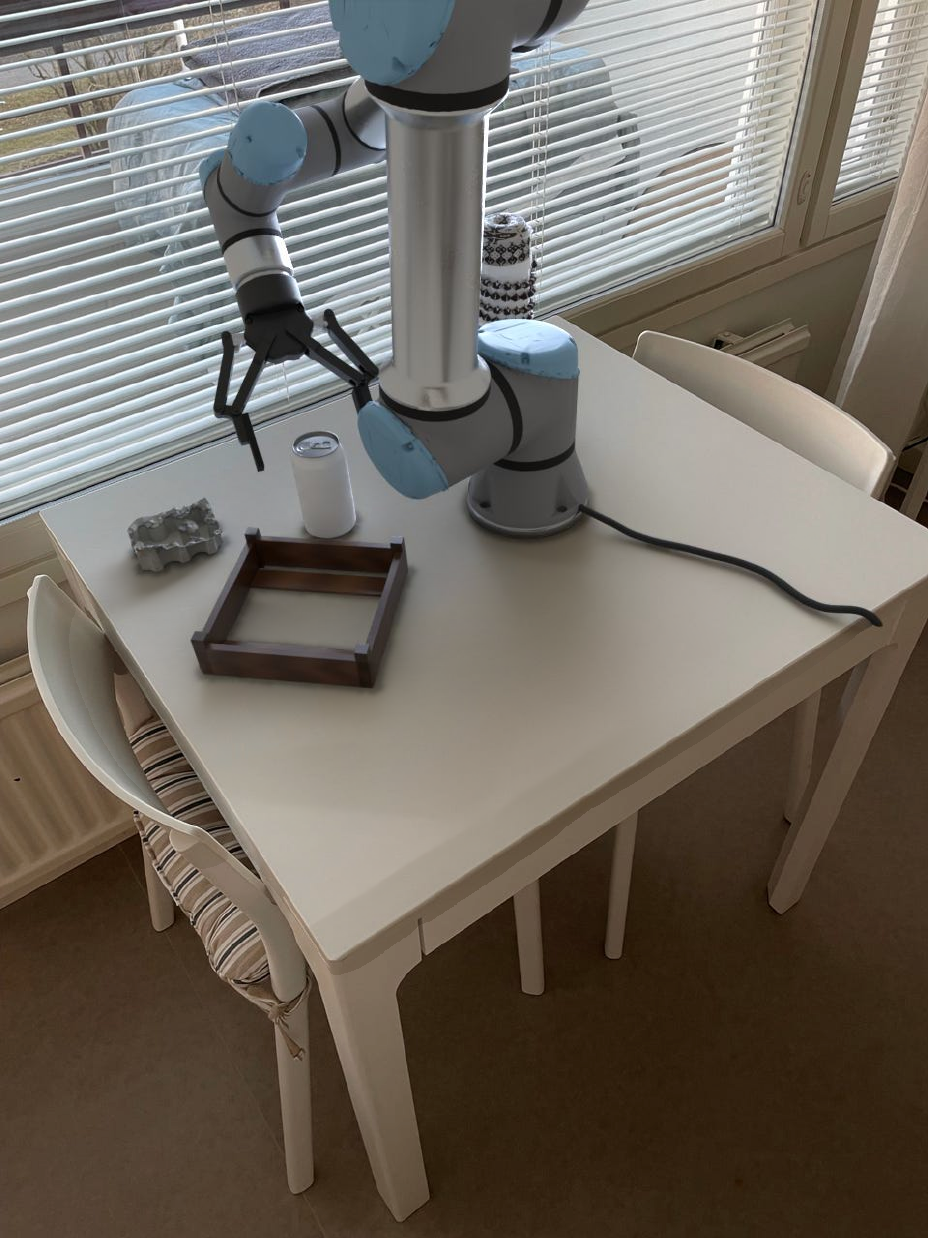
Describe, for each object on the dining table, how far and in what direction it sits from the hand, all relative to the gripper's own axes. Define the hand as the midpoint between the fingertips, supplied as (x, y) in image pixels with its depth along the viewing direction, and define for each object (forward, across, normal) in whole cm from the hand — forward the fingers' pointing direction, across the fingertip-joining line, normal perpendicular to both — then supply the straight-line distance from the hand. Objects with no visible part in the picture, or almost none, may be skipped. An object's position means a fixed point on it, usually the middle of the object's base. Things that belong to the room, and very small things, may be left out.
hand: (316, 455), depth 112 cm
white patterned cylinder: (-14, -42, -26) cm, 51 cm away
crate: (+19, +7, +5) cm, 21 cm away
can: (+8, 0, -6) cm, 10 cm away
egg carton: (+5, +19, -9) cm, 21 cm away
